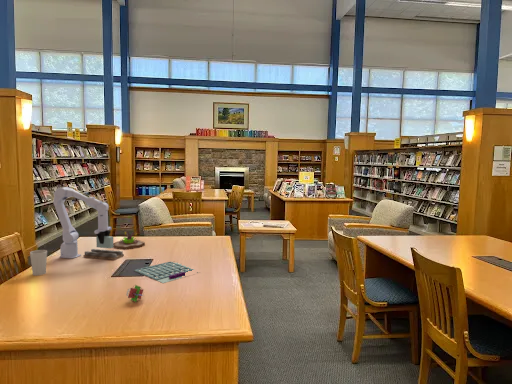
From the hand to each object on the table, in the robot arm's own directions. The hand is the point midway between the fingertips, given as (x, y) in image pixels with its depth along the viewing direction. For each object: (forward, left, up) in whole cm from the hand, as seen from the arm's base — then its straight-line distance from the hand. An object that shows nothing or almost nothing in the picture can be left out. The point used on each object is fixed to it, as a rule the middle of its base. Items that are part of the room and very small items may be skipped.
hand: (103, 242), depth 229 cm
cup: (-11, -39, -9) cm, 42 cm away
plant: (-2, +30, -9) cm, 31 cm away
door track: (0, 0, -9) cm, 9 cm away
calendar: (+54, -16, -10) cm, 57 cm away
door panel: (+1, 0, -3) cm, 3 cm away
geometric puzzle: (+59, -58, -9) cm, 83 cm away
